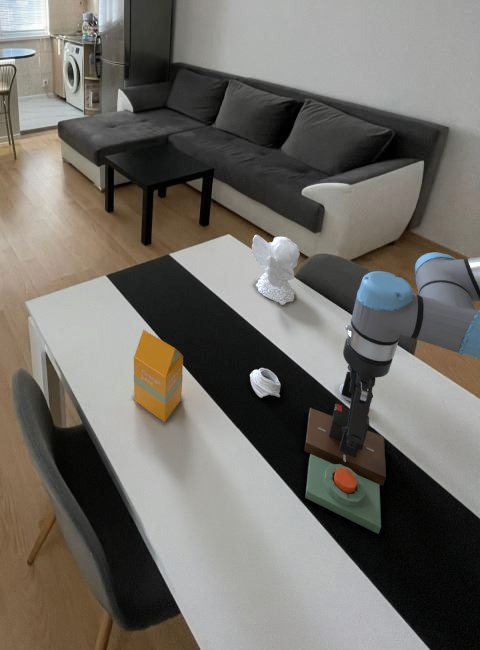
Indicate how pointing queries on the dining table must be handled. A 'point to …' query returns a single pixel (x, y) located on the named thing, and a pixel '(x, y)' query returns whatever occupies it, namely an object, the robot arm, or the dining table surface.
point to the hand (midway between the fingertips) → (348, 422)
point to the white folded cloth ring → (265, 383)
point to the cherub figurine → (276, 267)
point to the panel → (327, 448)
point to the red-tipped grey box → (341, 423)
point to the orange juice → (157, 376)
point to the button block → (344, 494)
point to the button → (345, 480)
